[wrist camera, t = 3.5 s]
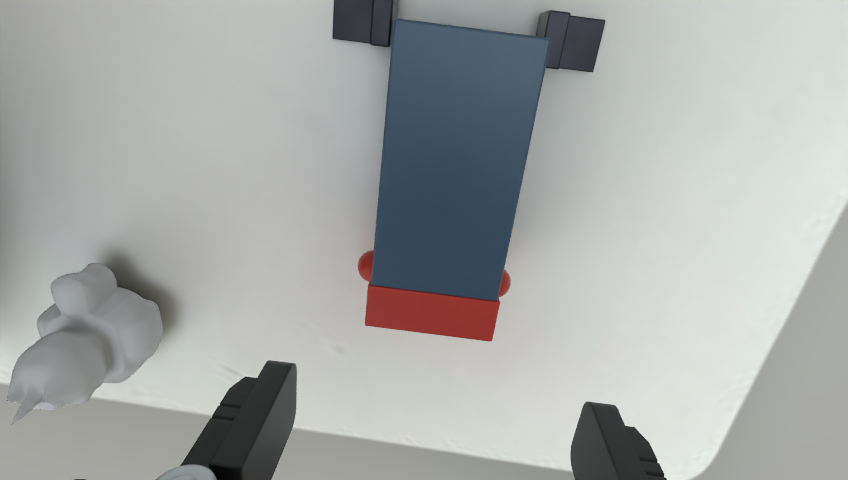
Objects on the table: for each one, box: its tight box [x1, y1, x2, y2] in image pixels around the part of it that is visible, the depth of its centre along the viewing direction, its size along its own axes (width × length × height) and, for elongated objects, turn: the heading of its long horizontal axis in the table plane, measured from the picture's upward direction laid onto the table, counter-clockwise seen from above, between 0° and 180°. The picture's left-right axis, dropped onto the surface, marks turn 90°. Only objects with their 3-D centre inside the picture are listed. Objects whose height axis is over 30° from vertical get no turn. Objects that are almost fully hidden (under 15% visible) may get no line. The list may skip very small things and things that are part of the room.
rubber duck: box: [7, 263, 163, 424], centre depth 23 cm, size 5×7×8 cm
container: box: [358, 19, 551, 341], centre depth 20 cm, size 7×11×6 cm, turn 173°
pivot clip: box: [333, 0, 605, 72], centre depth 19 cm, size 11×2×2 cm, turn 83°
